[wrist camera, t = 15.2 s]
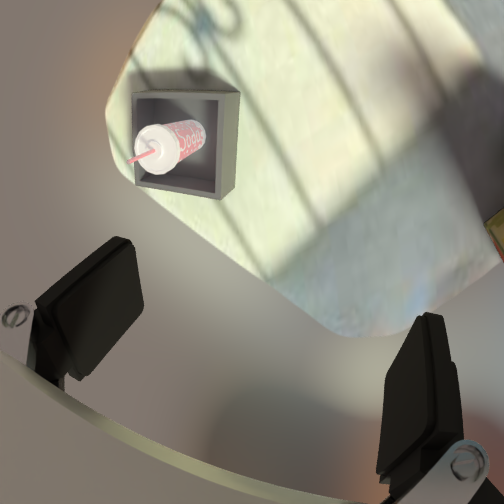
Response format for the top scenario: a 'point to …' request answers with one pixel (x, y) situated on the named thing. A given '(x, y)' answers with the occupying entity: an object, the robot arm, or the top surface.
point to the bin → (204, 159)
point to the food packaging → (497, 231)
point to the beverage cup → (167, 145)
